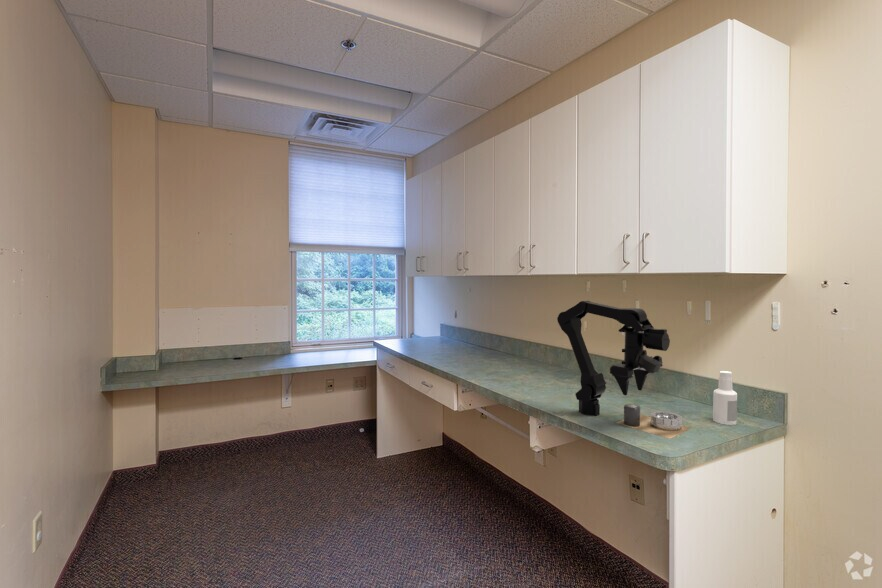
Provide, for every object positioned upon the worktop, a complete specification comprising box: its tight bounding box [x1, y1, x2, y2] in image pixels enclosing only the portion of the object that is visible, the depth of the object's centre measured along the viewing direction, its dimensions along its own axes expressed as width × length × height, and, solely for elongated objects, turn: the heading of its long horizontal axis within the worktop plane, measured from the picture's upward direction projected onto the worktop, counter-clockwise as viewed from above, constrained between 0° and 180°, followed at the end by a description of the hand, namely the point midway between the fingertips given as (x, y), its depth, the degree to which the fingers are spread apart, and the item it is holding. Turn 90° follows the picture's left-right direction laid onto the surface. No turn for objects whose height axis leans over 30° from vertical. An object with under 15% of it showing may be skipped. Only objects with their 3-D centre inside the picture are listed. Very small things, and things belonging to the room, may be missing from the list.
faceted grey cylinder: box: [650, 410, 683, 431], centre depth 144 cm, size 9×9×4 cm
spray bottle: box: [712, 370, 738, 426], centre depth 148 cm, size 7×7×18 cm
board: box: [616, 413, 692, 440], centre depth 145 cm, size 18×15×1 cm
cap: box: [623, 403, 641, 428], centre depth 146 cm, size 5×5×6 cm
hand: (632, 392), depth 146 cm, fingers open, 9 cm apart
